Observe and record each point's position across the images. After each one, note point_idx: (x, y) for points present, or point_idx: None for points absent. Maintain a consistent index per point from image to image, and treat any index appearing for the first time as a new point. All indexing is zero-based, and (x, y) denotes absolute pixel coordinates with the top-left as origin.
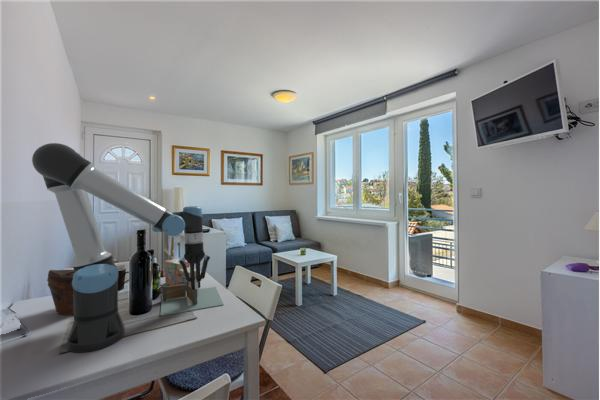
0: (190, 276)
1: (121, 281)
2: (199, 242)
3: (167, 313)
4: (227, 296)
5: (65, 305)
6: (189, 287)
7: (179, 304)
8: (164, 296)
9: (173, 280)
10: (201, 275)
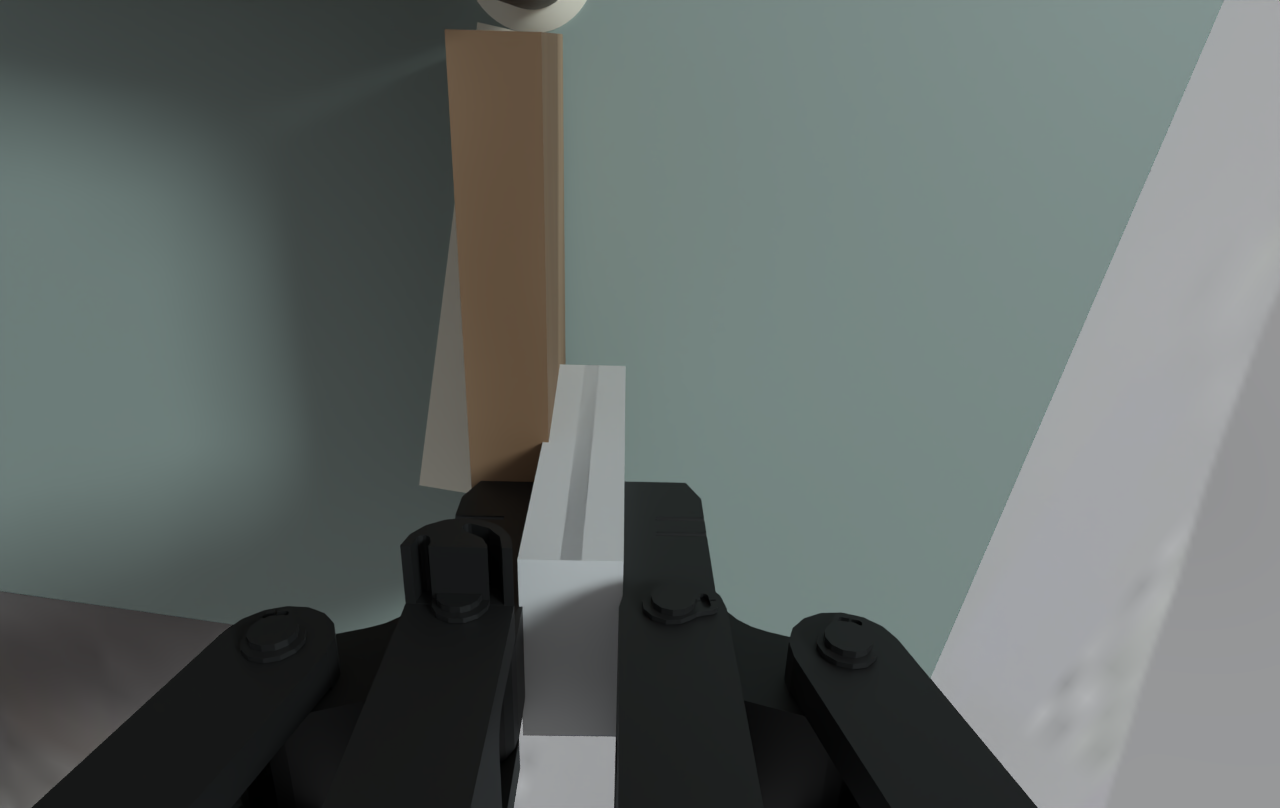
0: (368, 723)
1: None
2: None
3: (77, 586)
4: (1164, 428)
5: None
6: (464, 278)
7: (285, 329)
8: None
9: None
10: (819, 752)
